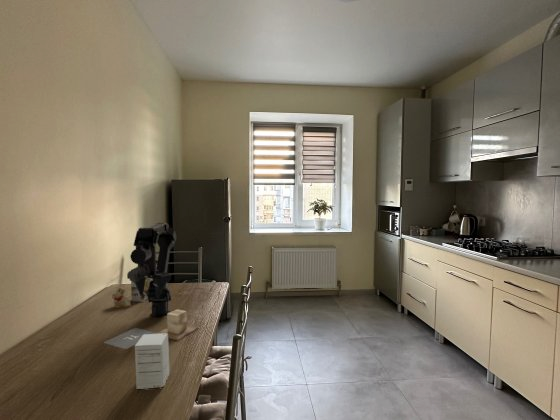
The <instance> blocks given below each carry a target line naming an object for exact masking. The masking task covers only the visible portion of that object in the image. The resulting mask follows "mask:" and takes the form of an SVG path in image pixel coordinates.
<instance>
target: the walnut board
mask: <svg viewBox="0 0 560 420" xmlns="http://www.w3.org/2000/svg"><path fill="white" fill-rule="evenodd" d="M197 330H199V327H198V326H193V325H190V324H187V329H186V330H184V331H182V332H180V333H179V334H176V333H171V332H168V327H166V328H164V329H162V330H160V331H158V332H155V333H156V334H161V333H168V340H173V341H180V340H183V338H186V337H188V336H189V335H191V334H192V333H195V332H196V331H197ZM185 336H186V337H185Z"/></svg>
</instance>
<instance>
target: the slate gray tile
mask: <svg viewBox="0 0 560 420" xmlns="http://www.w3.org/2000/svg"><path fill="white" fill-rule="evenodd" d="M156 333H157V332H153V331H149V330H145V329H141V328H137V327H134V328H132V329H130V330H128V331H125V332H123V333H121V334H118V335H116V336H115V337H112V338H109V339H107V340H105V341H104V342H102V343H103V344H107V345H111V346H114V347H117V348H119V349H123V350H127V349H129V348H131V347H133V346H135V345H136V344H137V342H138V341H139V340H140V338H141V337H142V336H143V335H144V334H156Z"/></svg>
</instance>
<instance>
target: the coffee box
mask: <svg viewBox="0 0 560 420" xmlns="http://www.w3.org/2000/svg"><path fill="white" fill-rule="evenodd" d="M133 269H134V268H133ZM133 269H131V270H133ZM152 280H153V279H151V278H146V280H145V286H144V292H143V295H142V296H140V294H139V291H138V289H137V287H136V285H135V283H134V282H132V281H130V282H131V283H130V287H131V288H130V289H131V290H130V291H131V293H130V294H131V301H132V302H140V303H142V302H145V301H147V300H148V296H147V291H148V289H149V285H150V281H152Z"/></svg>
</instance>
